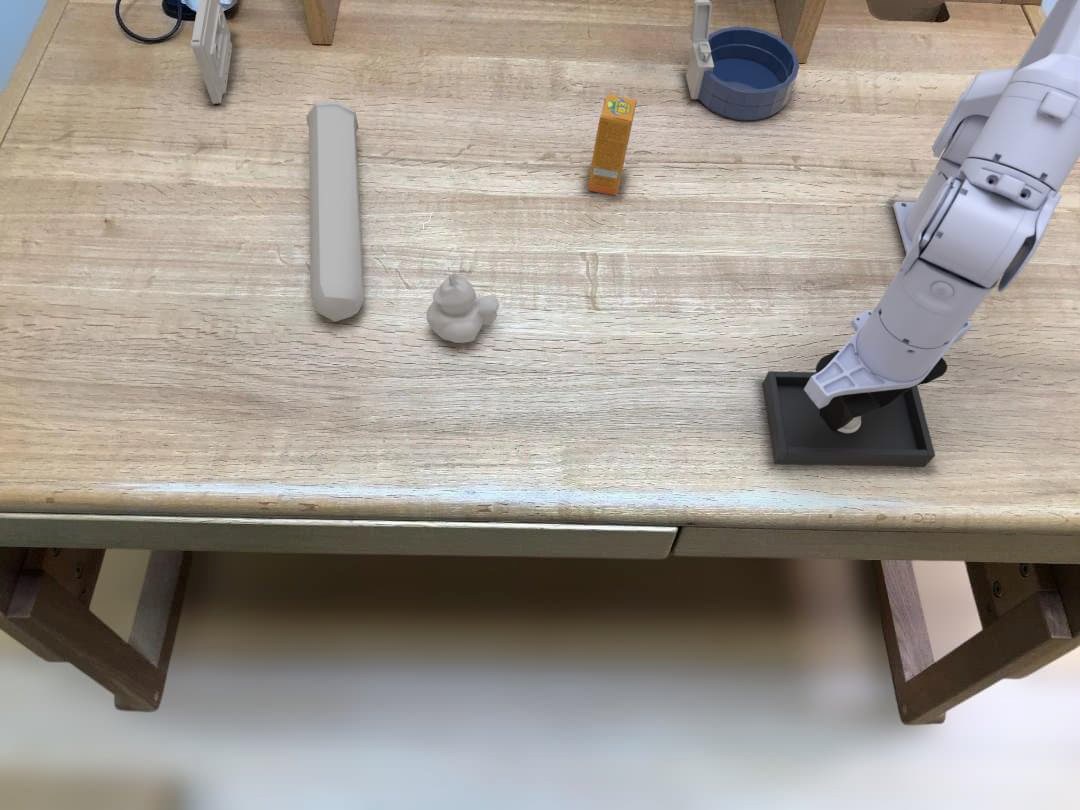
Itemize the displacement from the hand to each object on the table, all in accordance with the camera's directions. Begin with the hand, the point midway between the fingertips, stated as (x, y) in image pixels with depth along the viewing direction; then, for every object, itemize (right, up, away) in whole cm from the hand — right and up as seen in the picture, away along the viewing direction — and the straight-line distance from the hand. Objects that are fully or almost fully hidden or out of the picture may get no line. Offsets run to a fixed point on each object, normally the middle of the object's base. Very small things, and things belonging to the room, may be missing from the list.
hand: (851, 409), depth 73 cm
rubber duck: (-34, +8, +6) cm, 35 cm away
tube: (-47, +18, +12) cm, 52 cm away
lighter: (-9, +36, +25) cm, 45 cm away
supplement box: (-20, +24, +16) cm, 35 cm away
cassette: (-63, +38, +23) cm, 77 cm away
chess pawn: (0, -1, +2) cm, 2 cm away
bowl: (-4, +37, +24) cm, 44 cm away
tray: (0, -1, +2) cm, 2 cm away
